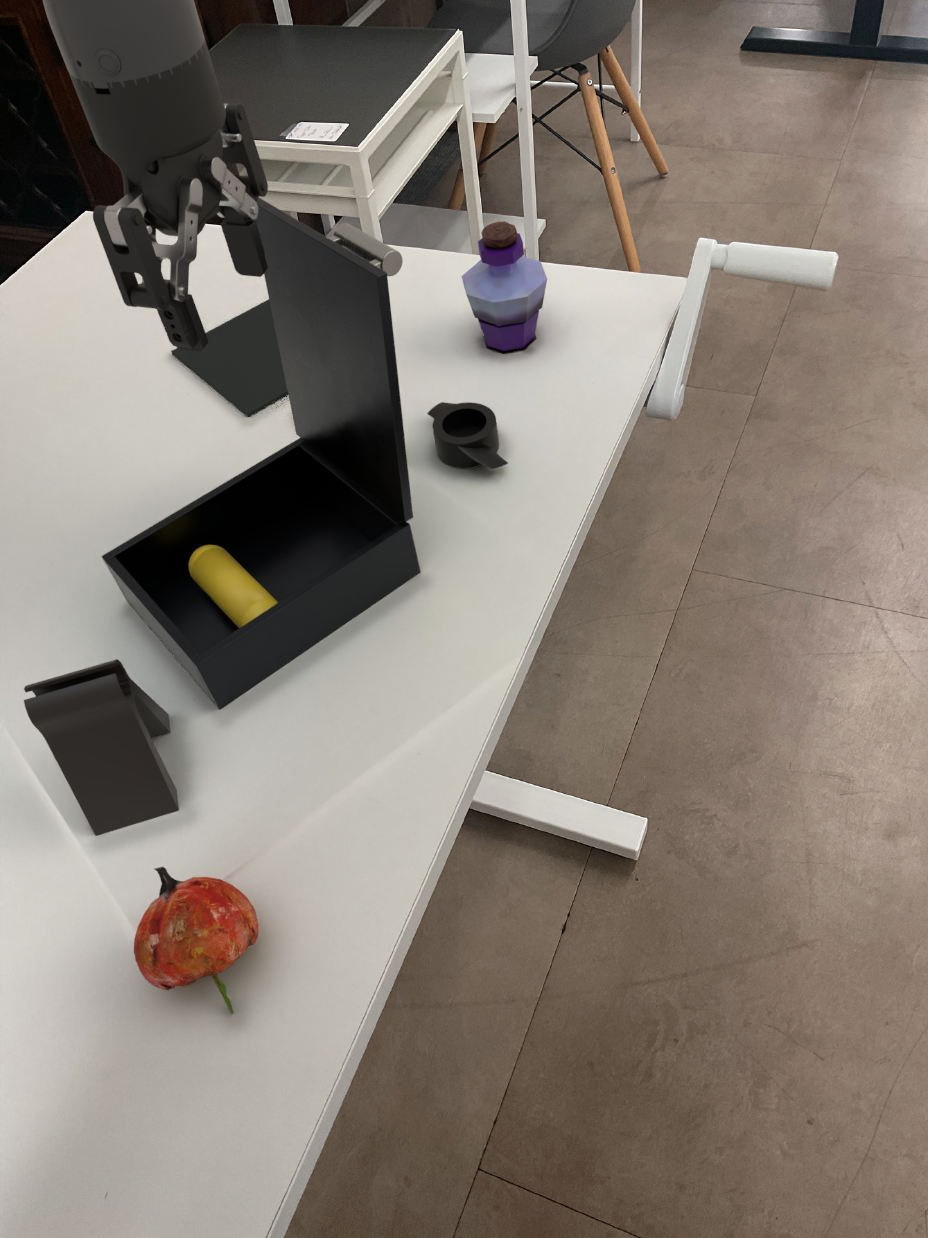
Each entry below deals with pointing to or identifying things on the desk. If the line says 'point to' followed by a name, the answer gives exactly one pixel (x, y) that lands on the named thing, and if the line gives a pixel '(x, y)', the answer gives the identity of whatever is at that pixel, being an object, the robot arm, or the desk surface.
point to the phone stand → (105, 744)
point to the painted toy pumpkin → (193, 932)
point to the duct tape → (466, 435)
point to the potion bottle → (505, 289)
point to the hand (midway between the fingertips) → (223, 309)
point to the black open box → (266, 567)
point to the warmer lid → (339, 348)
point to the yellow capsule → (229, 584)
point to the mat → (242, 360)
